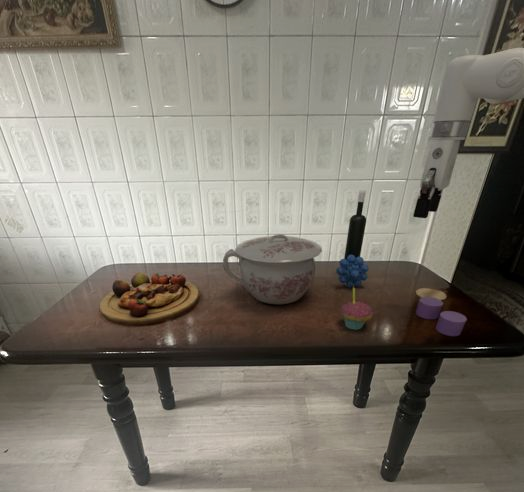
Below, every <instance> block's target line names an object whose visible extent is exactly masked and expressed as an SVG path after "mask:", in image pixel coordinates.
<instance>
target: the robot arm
mask: <svg viewBox="0 0 524 492" xmlns="http://www.w3.org/2000/svg"><path fill="white" fill-rule="evenodd" d="M479 99H483V100H484V101H485V102H487V103H489V104H494V105H496V104H497V105H498V104H503V103H508V102H512V101H517V100H523V99H524V47H512V48H509V49H505V50H501V51H497V52H494V53H489V54H467V55H461V56H458V57H454V58H453V59H451V60H450V61H449V63H447V65H446V68H445V72H444V74H443V79H442V82H441V87H440V91H439V93H438V98H437V102H436V105H435V110H434V114H433V119H432V123H431V125H430V130H429V135H428V138H427V141H431V143H430V146H429V149H428V153H427V157H426V160H425V163H424V167H423V171H422V174H421V179H420V183H419V188H420V190H419V194H418V196H417V200H416V203H415V207H414V211H413V213H412V214H413V215H412V217H414V218H419V219H427V218H428V217H429V212H431V213H436V212H437V211H438V209H439V205H440V202H441V198H442V194H443V191H444V189H446V188H448V187H449V185H450V182H451V179H452V176H453V172H454V168H455V164H456V160H457V157H458V153H459V149H460V144H461V141H466V137H467V134H468V130H469V127H470V124H471V121H472V118H473V114H474V112H475V107H476V106H477V103H478V102H477V101H478V100H479Z"/></svg>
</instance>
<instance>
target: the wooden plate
mask: <svg viewBox="0 0 524 492" xmlns="http://www.w3.org/2000/svg"><path fill="white" fill-rule="evenodd" d="M111 287H112V291H111V292H109V293H108V294H106V295H105V296H104V297H103V298H102V300H101V301H100V302H99V305H98V307H99V308H98V309H99V313H100V314H101V316H102V317H103V318H105V319H106V320H108V321H110V322H113V323H116V324H122V325H147V324H148V325H149V324H155V323H160V322H164V321H167V320H171V319H175V318H176V317H179V316H181V315H183V314H185V313H187V312H189V311H190V310H191V309H193V308H194V307H195V306H196V305H197V304H198V302H199V299H200V297H201V295H200V290H199V289H198V287H197V286H196V285H194V284H192V283H191V282H188V281H187V278H186V277H185V276H184V275H182V274H179V275H176V274H174V273H172V274H171V276H168V274H165V275H160V274H159V273H158V272H157V273H154V274H153V275H152V276H151V278H149V276H148V275H147V274H144V273H143V272H142V273H141V272H140V271H139V272H137V273H135V274H134V275H133V277H132V278H131V280H130V283H128V282H127V281H126V280H124V279H121V278H117V279H116V280H114V281H113V283H112V285H111Z"/></svg>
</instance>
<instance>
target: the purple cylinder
mask: <svg viewBox="0 0 524 492" xmlns="http://www.w3.org/2000/svg"><path fill="white" fill-rule="evenodd" d="M443 306H444V302H443V300H442V301H441V300H439V299H437V298H433V297H422V298H421V297H419V301H418V303H417V306H416V310H415V314H416V316H417V317H420V318H422V319H426V320H436V319H437V320H438V319H439V316H440V314H441V312H442V308H443Z"/></svg>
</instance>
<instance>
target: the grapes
mask: <svg viewBox="0 0 524 492" xmlns="http://www.w3.org/2000/svg"><path fill="white" fill-rule="evenodd" d="M335 271H336V274H337V275H338V281H339V282H340V283H341V284H345V286H346V287H347V288H349V289H350V288H353V286H354V287H357V288H358V287H361V285H362V284H363V283H362V281H363V282H364V281H365V282H366V280H367V279H368V277H369V276H368V274H367V272H368V271H369V265H368V264H367V263H365V260H364V258H363V257H362V256H360V257H357V258H355V256H354V255H349V256H348V257H347V260H346V259H344V258H341V259H340V260H339V266H338V267H337V268H336V270H335Z"/></svg>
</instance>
